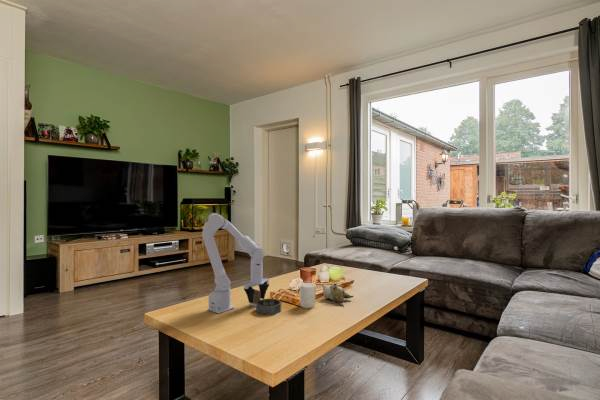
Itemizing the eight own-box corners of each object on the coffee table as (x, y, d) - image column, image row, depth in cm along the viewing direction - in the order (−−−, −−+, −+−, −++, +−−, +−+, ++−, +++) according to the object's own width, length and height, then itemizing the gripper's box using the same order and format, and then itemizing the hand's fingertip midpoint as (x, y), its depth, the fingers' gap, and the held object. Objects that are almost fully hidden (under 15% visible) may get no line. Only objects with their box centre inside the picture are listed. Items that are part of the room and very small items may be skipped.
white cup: (314, 309, 152) (314, 287, 152) (297, 307, 154) (297, 286, 154) (317, 303, 160) (317, 283, 160) (301, 302, 162) (301, 282, 161)
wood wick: (256, 307, 155) (256, 292, 155) (249, 304, 158) (249, 290, 158) (264, 304, 159) (264, 290, 159) (256, 302, 162) (256, 288, 162)
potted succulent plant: (328, 278, 173) (354, 284, 165) (327, 294, 174) (353, 301, 166) (318, 283, 165) (345, 290, 156) (317, 300, 165) (344, 307, 157)
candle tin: (269, 316, 143) (269, 308, 143) (251, 310, 150) (251, 303, 150) (285, 309, 152) (285, 302, 152) (268, 304, 158) (268, 297, 158)
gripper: (251, 276, 150) (251, 306, 150) (273, 270, 161) (273, 298, 162) (240, 274, 154) (240, 303, 155) (262, 268, 166) (262, 295, 166)
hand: (256, 300), depth 158 cm, fingers open, 7 cm apart
